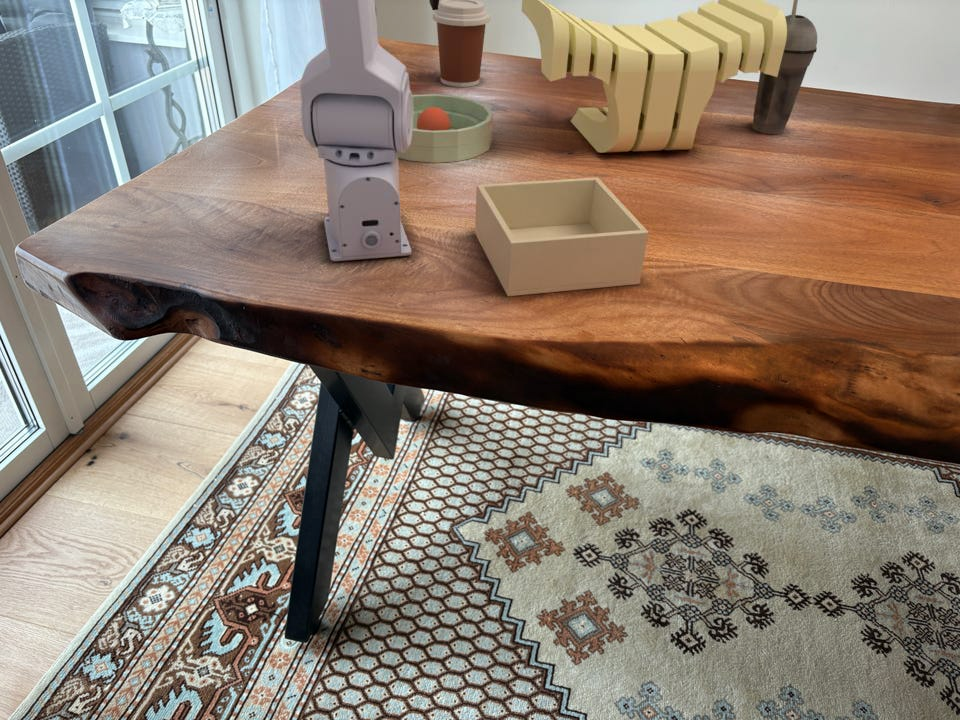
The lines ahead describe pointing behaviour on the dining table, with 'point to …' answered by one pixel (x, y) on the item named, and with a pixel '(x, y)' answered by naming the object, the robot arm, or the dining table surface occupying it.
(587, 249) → the bin
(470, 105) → the bowl
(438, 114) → the toy ball
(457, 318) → the dining table surface
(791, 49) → the beverage cup
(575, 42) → the slatted curved stool
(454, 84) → the coffee cup
